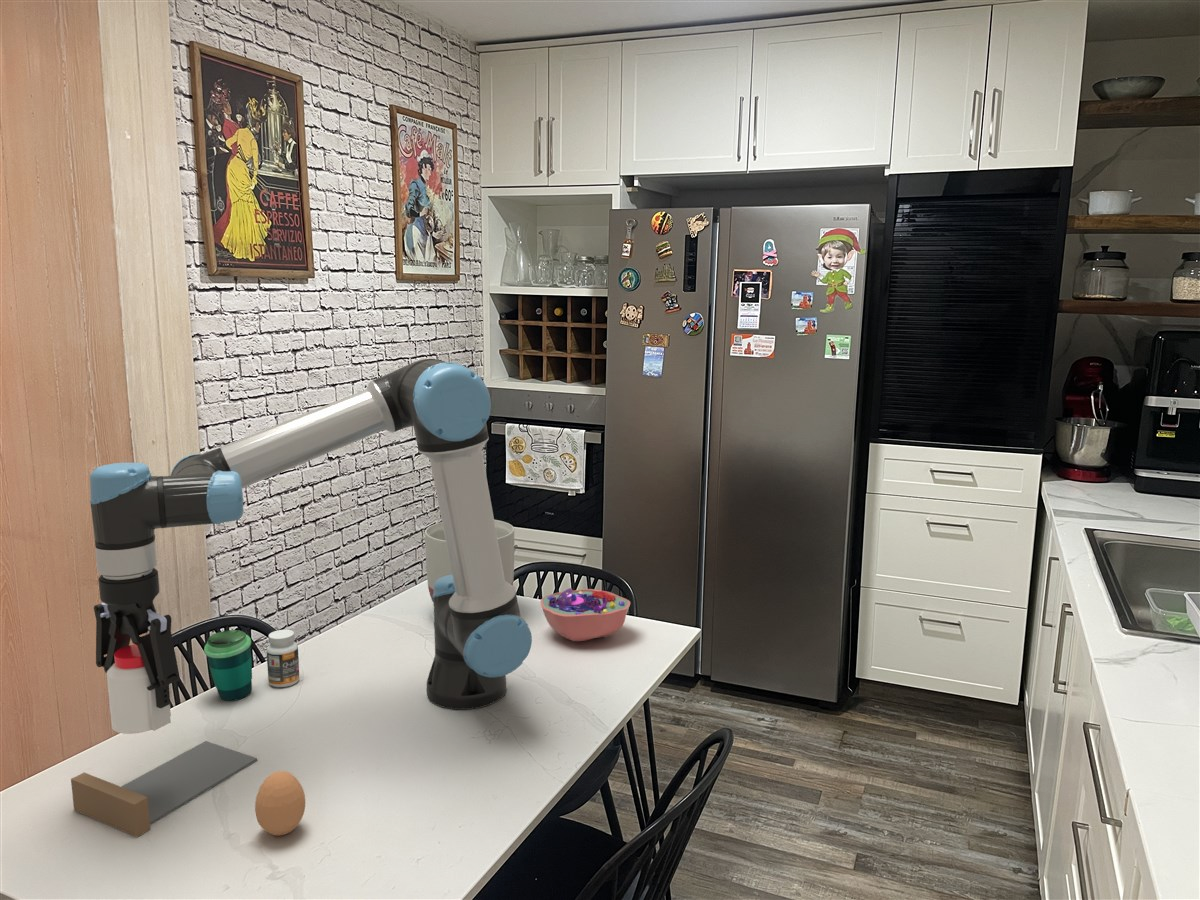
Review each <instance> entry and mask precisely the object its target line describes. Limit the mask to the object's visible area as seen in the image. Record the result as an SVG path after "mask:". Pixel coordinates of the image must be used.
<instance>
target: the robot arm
mask: <svg viewBox="0 0 1200 900" xmlns="http://www.w3.org/2000/svg"><path fill="white" fill-rule="evenodd" d="M491 404H492V403H491V395H490V392H489V389H488V387H487V385H486V383H485V382H484V380H483V379H482V378H481V377H480V376H479V375H478V374H477V373H475V372H474V371H473V370H472V369H470V368H469V367H467V366H465V365H462V364H460V363H457V362H452V361H451V362H449V361H445V360H442V359H437V358H424V359H420V360H417V361H413V362H411V363H409V364H407V365H404V366H402V367H399V368H398V369H395V370H394V371H392V372H389V373H386V374H384V375H382V376H379V377H378V378H375V379H372V380H370V381H369V382H368V383H367V388H365V389H364V390H362V391H361V390H360V391H359V392H356V393H354V394H351V395H348V396H345V397H343V398H341V399H338V400H335V401H334V402H331V403H327V404H326V405H324V406H320V407H318V408H315V409H313V410H310V411H308V412H305V413H304V414H300V415H299V416H296V417H293V418H290V419H288V420H285V421H283V422H280V423H277V424H275V425H272V426H270V427H267V428H266V429H262V430H260V431H257V432H255V433H252V434H250V435H247V436H245V437H242V438H240V439H238V440H235V441H232V442H230V443H227V444H225V445H221V446H220V447H218V448H215V449H212V450H210V451H206V452H205V453H201V454H200V453H192V454H188V455H186V456H184V457H183V458H181V459H180V460H178V461H177V463H176V464H175V465H174V466H173V469H172V470H171V472H170V475H164V476H162V475H160V476H158V475H155V476H154V475H152V473H151V471H150V467H149V465H147V464H146V463H142V462H128V461H127V462H115V463H109V464H104V465H100V466H98V467H96V468H94V469H93V470H92V471H91V473H90V475H89V491H90V493H89V495H90V500H89V503H90V510H91V519H92V527H93V537H94V548H95V549H94V550H95V551H94V552H95V561H96V571H97V574H99V575H100V576H99V577H98V579H97V581H98V587H99V588H98V589H99V599H100V601H101V603H98V604H96V605H93V611H94V615H95V616H94V617H95V621H96V624H95V625H96V626H95V631H96V632H95V665H96V666H97V668H101V667H102V668H103V670H104V671H103V672H104V673H105V674H107V671H108V669H109V668H110V667H111V666H112V665H113V664H114V663H115V661H114V653H115V652H116V651H117V650H119V649H121V648H123V647H126V646H129V645H130V644H131V642H132V645H134V644H136V645H137V647H138V649H139V652H140V655H141V658H142V661H143V663H144V666H145V669H146V672H147V675H148V677H149V680H150V683H151V686H148V687H147V693H148V704H149V716H150V727H151V730H150V731H154V732H155V731H156V730H159V729H160V728H162V727H165V726H167V725H168V724H171V723H172V722H171V717H170V710H171V706H170V707H169V704H170V705H171V695H170V693H171V692H170V685H171V684H173V683H175V682H177V681H179V680H180V671H179V665H178V661H177V656H176V651H175V646H174V640H173V634H172V617H171V615H170V614H165V615H160V614H158V613H157V609H156V607H155V604H154V600H155V598H156V597H157V596H158V595H159V593H160V581H159V580H160V579H159V571H158V569H156V567H157V565H158V561H157V551H156V533H155V530H156V529H168V528H177V527H191V526H201V525H203V526H204V525H213V524H214V525H220V524H222V523H228V522H229V523H230V522H234V521H235V522H236V521H239V520H240V519H241V518H242V516H243V514H244V499H243V498H244V497H243V489H244V488H247V487H249V486H251V485H255V484H256V483H259V482H261V481H265V480H266V479H268V478H271V477H273V476H275V475H278V474H280V473H283V472H286V471H288V470H291V469H293V468H295V467H297V466H300V465H303V464H305V463H307V462H310V461H312V460H314V459H318V458H320V457H322V456H324V455H327V454H329V453H331V452H334V451H337V450H338V449H339V450H340V449H341V448H344V447H346V446H348V445H351V444H353V443H356V442H358V441H360V440H363V439H366V438H368V437H371V436H373V435H375V434H378V433H380V432H382V431H387V432H390V433H393V434H394V433H395V432H397V431H398V432H399V431H400V430H403V429H407V428H410V427H413V429H414V430H413V431H414V434H415V440H416V445H417V451H418V452H419V453H420V454H421V455H423V456H424V457H426V458H428V460H429V462H430V466H431V467H430V468H431V473H432V478H433V482H434V487H435V492H436V499H437V503H438V507H439V508H438V509H439V513H440V519H441V522H442V524H443V529H444V535H445V540H446V545H447V550H448V555H449V560H450V565H451V570H452V575H447V576H444V577H441V578H439V579H438V580H437V581H436V582H435V584H434V593H433V596H432V597H433V601H434V603H433V628H434V629H433V630H434V658H433V660H432V663H431V667H430V670H429V673H428V676H427V679H426V696H427V699H428V700H429V701H430V702H431V703H432V704H435V705H436V706H439V707H442V708H446V709H453V710H468V709H469V710H472V709H477V708H482V707H486V706H488V705H491V704H493V703H496V702H498V701H499V700H501V699H502V698H503V697H504V696H505V695H506V693H507V677H506V675H509V674H511V673H512V672H514V671H516V670H517V669H518V668H519V667H520V666H521V665H522V664H523V663H524V661H525V660H526V658H527V657H528V656H529V654H530V650H531V648H532V642H533V640H532V639H533V638H532V632H531V629H530V627H529V625H528V623H527V622H526V620H525V619H524V618H523V617H521V613H520V608H519V607H520V606H519V602H518V597H517V591H516V587H515V586H514V584H513V585H511V584H509V583H508V582H506V581H505V578H504V572H503V567H502V561H501V556H500V550H499V545H498V539H497V533H496V528H495V522H494V520H495V518H494V511H493V506H492V505H493V504H492V500H491V496H490V488H489V485H488V478H487V472H486V468H485V467H486V466H485V461H484V456H483V449H484V447H485V445H486V444H487V442H488V441H489V432H488V425H487V421H488V420H489V418H490V414H491V409H492V405H491ZM433 601H432V602H433ZM147 633H148V634H147ZM144 634H145V635H144ZM141 635H142V636H141ZM157 677H158V678H157Z"/></svg>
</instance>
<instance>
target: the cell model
mask: <svg viewBox="0 0 1200 900" xmlns="http://www.w3.org/2000/svg"><path fill="white" fill-rule="evenodd" d="M630 605H631V601H630V600H629V599H627V598H625V597H622V596H619V595H617V594H615V593H614V592H611V591H606V590H599V589H594V588H593V589H592V588H583V589H575V590H573V588H572V587H569V588H566V589H564V590H563V591H560V592H555V593H551V594H548V595H545V596H543V597H542V598H541V599H540V607H541V609H542V610H541V611H542V613H543V615H544V617H545V619H546V622H547V624H548V625H549V626H550V627H551V628H552V630H553V631H554V632H555V634H558V635H559V636H562V637H563V638H565V639H567V640H568V641H572V642H585V641H590V640H594V639H596V638H608V637H610V636H612V635H613V634H615V633H617V632H619V630H620V629H621V628H623V625H624V623H625V621H626V617H627V614H628V611H629V609H630Z"/></svg>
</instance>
